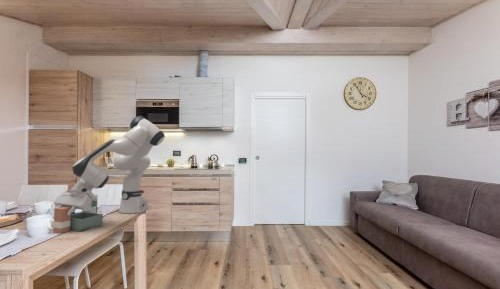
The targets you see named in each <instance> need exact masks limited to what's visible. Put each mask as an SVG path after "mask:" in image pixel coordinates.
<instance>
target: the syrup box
mask: <svg viewBox="0 0 500 289" xmlns="http://www.w3.org/2000/svg"><path fill="white" fill-rule="evenodd" d="M93 194H94V196H95V198H94V199H93V200H92V202H91V204H90V205H89V206H88V208H86V209H85V210H81V212H90V213H98V197H99V196H98V194H95V193H93Z"/></svg>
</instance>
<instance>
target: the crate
mask: <svg viewBox="0 0 500 289" xmlns="http://www.w3.org/2000/svg"><path fill="white" fill-rule="evenodd" d="M103 217H104V214H103V213H98V212H97V213H90V212H82V211H81V212H76V213H75V214H71V217H70V220H71V221H70V231H75V232H84V231H87V230H90V229H94V228H97V227H99V226H103V220H104V218H103Z"/></svg>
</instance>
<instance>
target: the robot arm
mask: <svg viewBox="0 0 500 289" xmlns="http://www.w3.org/2000/svg"><path fill="white" fill-rule="evenodd" d="M129 127H130V130H128V131H127V132H126V133H125V134H124V135H122V136H121V137H120V138H118V139H109V140H108V141H106V142H104V143H103V144H102V145H100V146H98V147H97V148H95V149H94V150H93V151H91V152H90V153H88V154H87V155H85V156H84V157H82V158H80V159H78V160H76V162H75V163H73V165H72V168H71V169H72V173H73V174H74V175H75V177H76V176H77V177H78V178H80V179H79V181H78V182H76V183H75V184H74V185H73V187H72V188H71V189H70V190H66V191H64V192H62V193H60V194H59V195H58V196H57V197H56V198H55V199H54V200H53V204H54V205H55V206H56V207H57V208H59V207H70V208H71V209H70V210H69V211H67V212H66V213H65V214H66V215H68V216H69V215H70V214H71V213H72V212H74V211H76V210H81V211H82V210H85V209H86V208H88V206H89V205H90V204H91V202H92V200H93V199H94V198H95V196H94V194H95V193H93V189H101V188H103V187H105V186H106V184H107V183H108V181H109V173H107V172H106V171H105V170H104V169H102V168H101V167H99V166H98V165H97V164H96V163H94V161H95V160H97V159H98V158H100V157H101V156H102V155H104V154H105V153H107V152H112V153H116V154H118V155H116V156H115V157H114V158H113V166H114V169H116V170H118V171H123V172H124V171H125V172H126V171H129V173H128V174H127V175H126V176H125V177H124V178H123V180H122V191H121V199H120V206H119V208H118V212H119V213H122V214H137V213H138V214H140V213H144V212H146V211H149V210H151V209H152V206H150V205H149V202H148V199H147V198H146V197H144V196H143V195H142V194H144V193H145V189H144V190H143V189H142V190H141V181H142V177H143V174H144V173H145V172H146V170H147V169H148V168H150V165H151V159H150V157H149V156H148V154H150V151H151V150H152V148H153V147H155V146H159V145H161V144H162V143H163V141H164V139H165V137H166V136H165V133H164V131H163V130H161V129H160V128H159V127H158V126H156V124H154V123H152V122H151V121H149V120H148V119H146V118H145V117H144V116H142V115H138V116H135V117H134V118H133V119H132V120H131V121H130V124H129Z"/></svg>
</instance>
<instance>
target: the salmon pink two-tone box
mask: <svg viewBox="0 0 500 289" xmlns="http://www.w3.org/2000/svg"><path fill="white" fill-rule="evenodd" d="M70 209H71V208H70V207H59V208H58V207H56V208H54V209H53V212H54V213H53V231H52V232H53V233H55V234H60V233H61V234H65V233H67V232H68V233H69V232H70V231H71V230H70V221H71V220H70V217H71V214H70V215H69V216H68V215H66V214H65V213H66V212H67V211H69V210H70Z"/></svg>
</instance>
